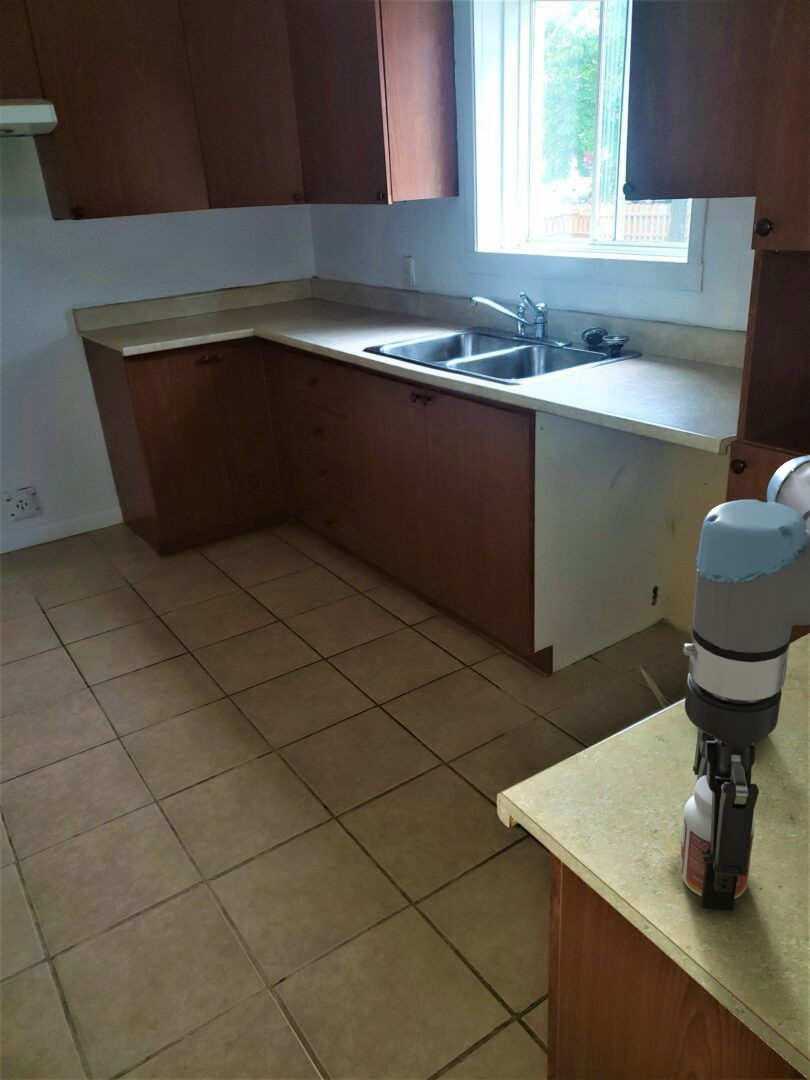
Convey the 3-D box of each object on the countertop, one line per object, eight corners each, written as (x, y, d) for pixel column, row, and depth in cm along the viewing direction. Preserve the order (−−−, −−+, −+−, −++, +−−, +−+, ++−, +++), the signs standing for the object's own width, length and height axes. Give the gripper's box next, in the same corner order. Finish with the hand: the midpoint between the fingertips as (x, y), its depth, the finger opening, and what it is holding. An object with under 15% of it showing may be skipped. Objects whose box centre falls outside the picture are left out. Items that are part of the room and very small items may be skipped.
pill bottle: (760, 895, 77) (774, 806, 72) (701, 911, 76) (711, 822, 71) (722, 846, 82) (732, 761, 78) (667, 861, 81) (674, 775, 77)
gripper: (674, 619, 78) (660, 802, 88) (705, 752, 61) (683, 960, 71) (757, 621, 77) (733, 806, 87) (812, 758, 60) (774, 969, 70)
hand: (710, 875), depth 79 cm, fingers closed on pill bottle, 6 cm apart
